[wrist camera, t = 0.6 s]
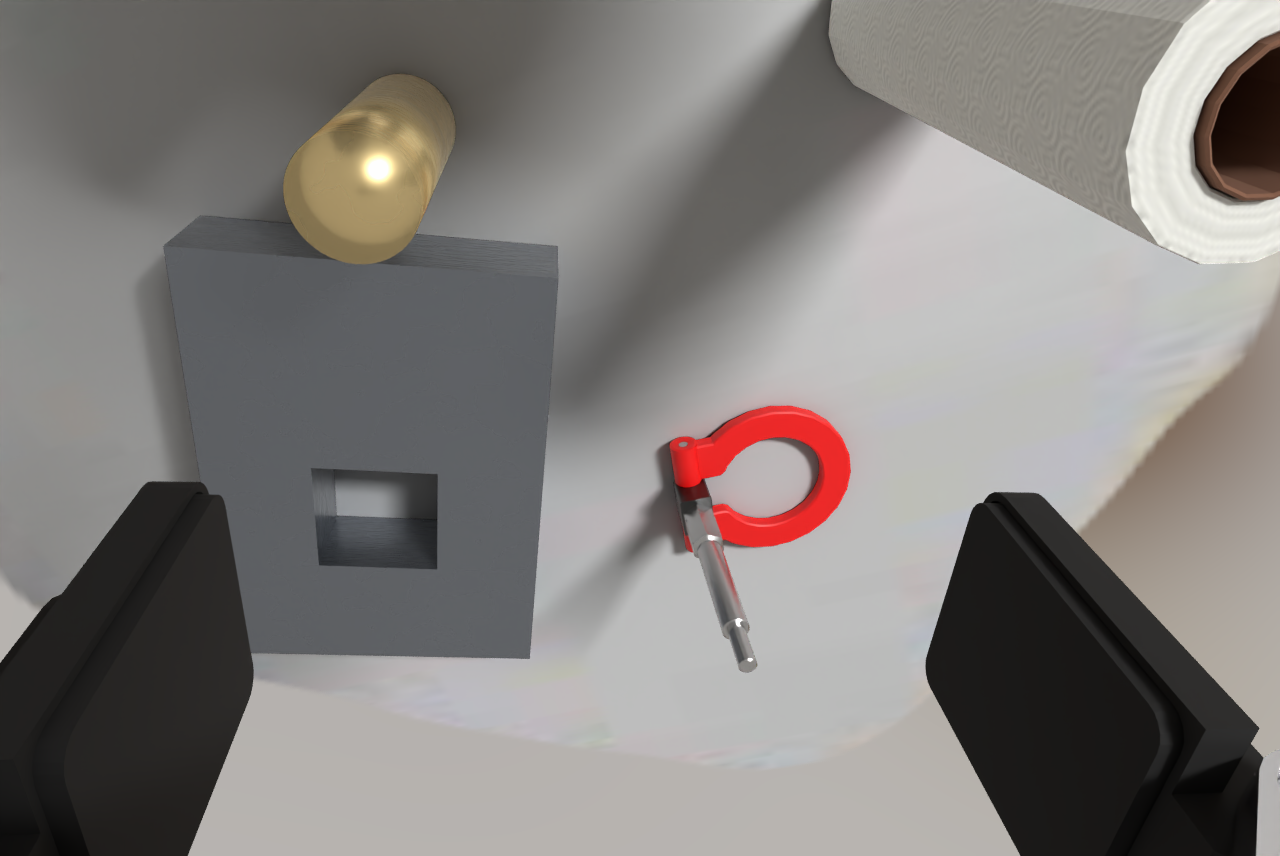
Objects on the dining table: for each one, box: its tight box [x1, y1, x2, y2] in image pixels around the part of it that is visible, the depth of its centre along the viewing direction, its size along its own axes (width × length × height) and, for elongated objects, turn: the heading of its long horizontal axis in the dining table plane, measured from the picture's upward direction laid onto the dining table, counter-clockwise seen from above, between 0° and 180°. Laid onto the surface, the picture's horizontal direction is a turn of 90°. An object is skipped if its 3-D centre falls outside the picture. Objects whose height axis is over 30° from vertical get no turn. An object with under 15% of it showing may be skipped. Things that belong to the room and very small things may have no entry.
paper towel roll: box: [828, 0, 1280, 264], centre depth 26 cm, size 7×6×21 cm
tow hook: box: [670, 406, 851, 673], centre depth 40 cm, size 8×13×9 cm
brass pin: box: [283, 74, 456, 264], centre depth 31 cm, size 4×4×11 cm
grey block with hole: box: [163, 216, 558, 659], centre depth 41 cm, size 21×15×4 cm
